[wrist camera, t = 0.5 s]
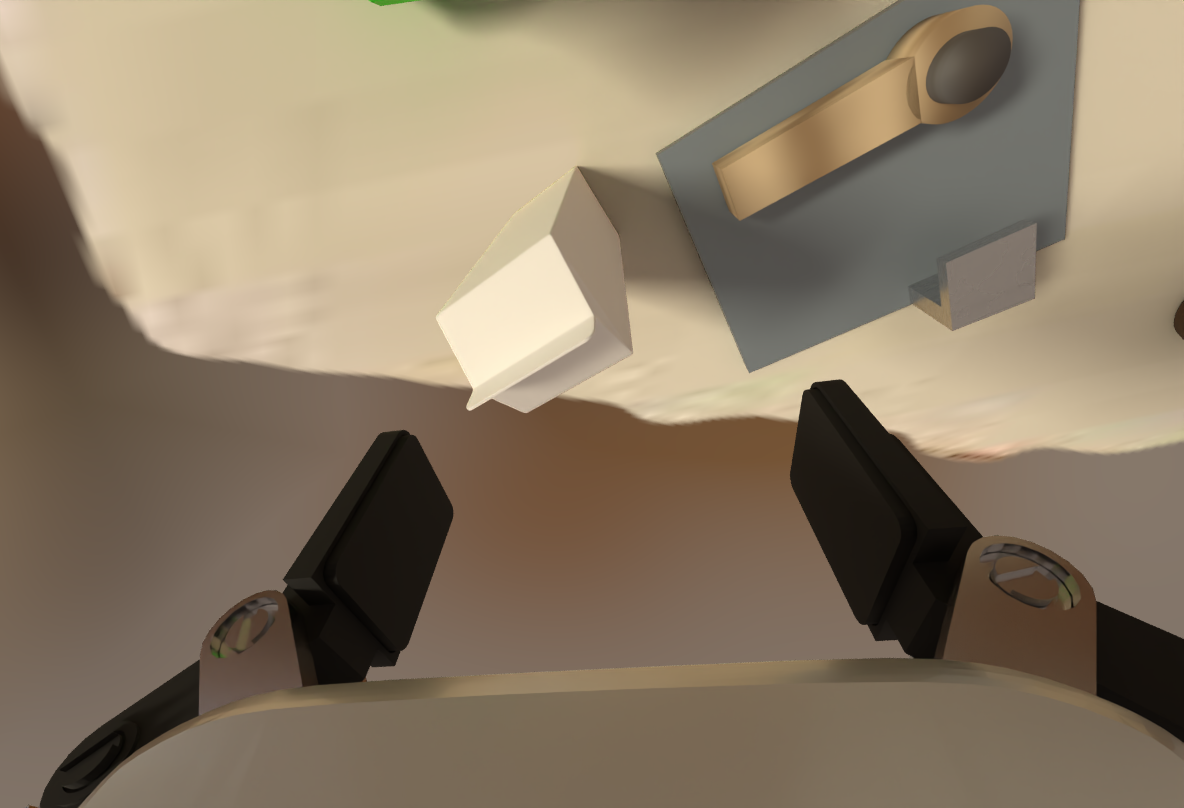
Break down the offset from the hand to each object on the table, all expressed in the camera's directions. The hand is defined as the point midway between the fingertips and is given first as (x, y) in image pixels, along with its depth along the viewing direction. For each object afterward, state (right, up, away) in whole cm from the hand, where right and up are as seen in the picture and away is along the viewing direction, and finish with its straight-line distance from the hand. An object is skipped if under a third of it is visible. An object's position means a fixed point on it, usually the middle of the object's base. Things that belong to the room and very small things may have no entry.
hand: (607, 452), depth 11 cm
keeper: (+26, +13, +23) cm, 38 cm away
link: (+15, +20, +17) cm, 30 cm away
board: (+19, +17, +21) cm, 33 cm away
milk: (-2, +15, +23) cm, 27 cm away
